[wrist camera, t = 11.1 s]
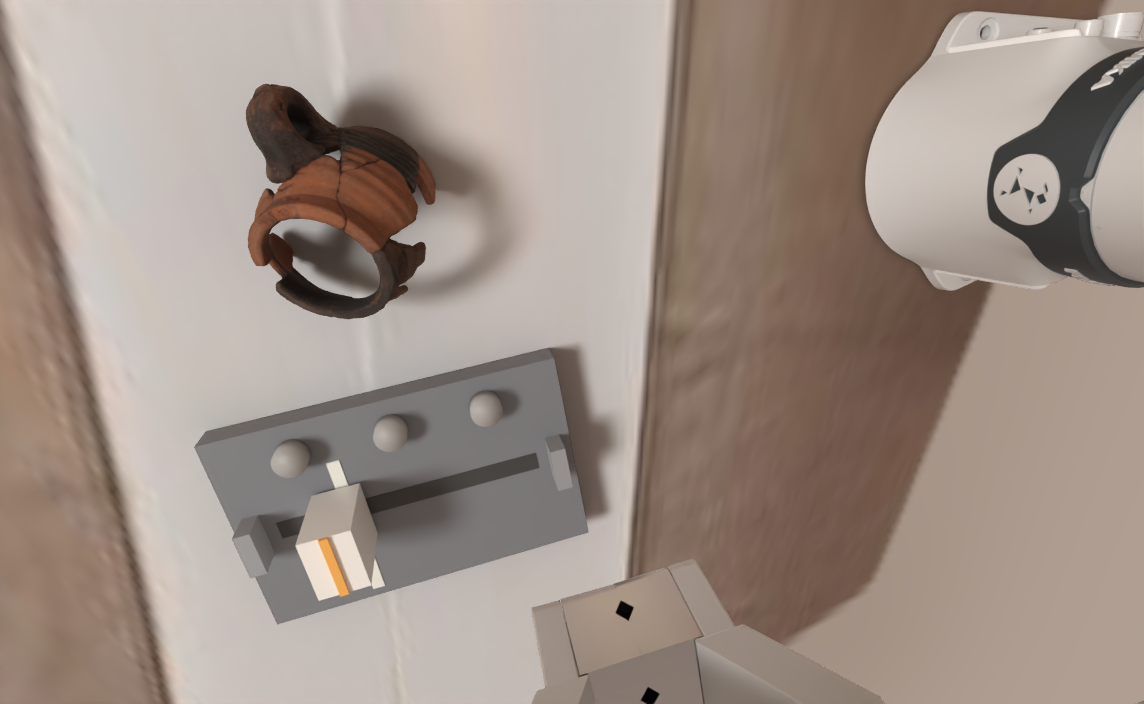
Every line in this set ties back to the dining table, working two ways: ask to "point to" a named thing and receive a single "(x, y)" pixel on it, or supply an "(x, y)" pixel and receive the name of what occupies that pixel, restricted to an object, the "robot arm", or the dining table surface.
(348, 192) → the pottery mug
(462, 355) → the dining table surface
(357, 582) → the fader tab
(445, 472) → the console
